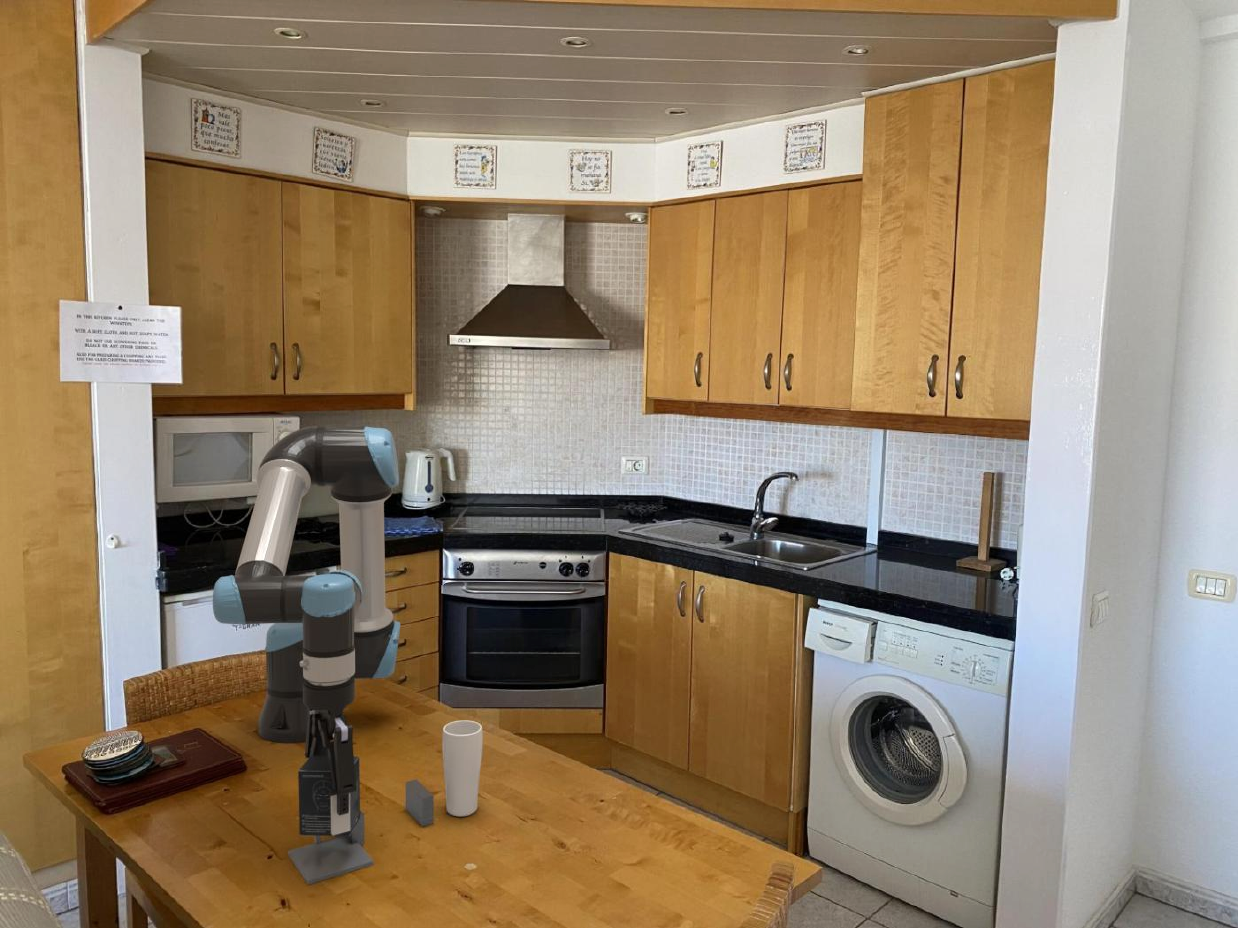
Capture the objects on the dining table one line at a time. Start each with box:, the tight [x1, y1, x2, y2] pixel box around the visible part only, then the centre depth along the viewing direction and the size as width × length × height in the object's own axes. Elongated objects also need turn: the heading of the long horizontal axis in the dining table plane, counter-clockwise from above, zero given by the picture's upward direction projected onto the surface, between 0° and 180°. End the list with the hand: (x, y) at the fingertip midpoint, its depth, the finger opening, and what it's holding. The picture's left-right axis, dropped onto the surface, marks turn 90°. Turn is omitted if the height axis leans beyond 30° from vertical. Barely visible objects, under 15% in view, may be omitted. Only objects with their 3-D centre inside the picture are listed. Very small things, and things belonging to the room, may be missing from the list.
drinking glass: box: [441, 719, 483, 817], centre depth 158 cm, size 7×7×15 cm
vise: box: [314, 778, 435, 846], centre depth 151 cm, size 7×19×5 cm, turn 126°
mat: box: [287, 836, 374, 886], centre depth 143 cm, size 10×10×1 cm
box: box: [297, 755, 361, 837], centre depth 141 cm, size 8×6×11 cm
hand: (330, 818), depth 142 cm, fingers closed on box, 9 cm apart
